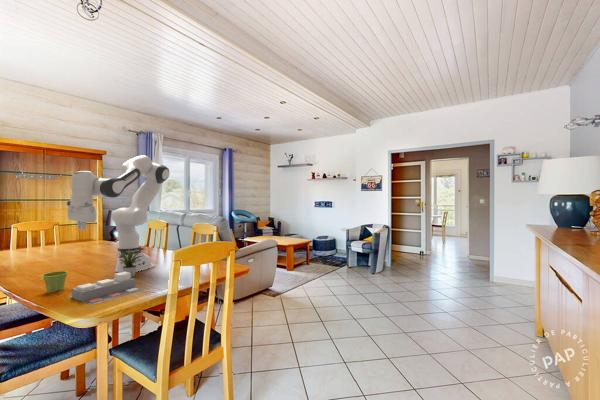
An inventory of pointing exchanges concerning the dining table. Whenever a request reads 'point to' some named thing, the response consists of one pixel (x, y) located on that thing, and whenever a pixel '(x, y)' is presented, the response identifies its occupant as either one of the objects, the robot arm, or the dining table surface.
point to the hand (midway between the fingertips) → (81, 230)
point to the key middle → (105, 282)
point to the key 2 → (122, 276)
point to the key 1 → (85, 287)
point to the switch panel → (105, 292)
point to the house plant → (129, 262)
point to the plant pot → (55, 281)
